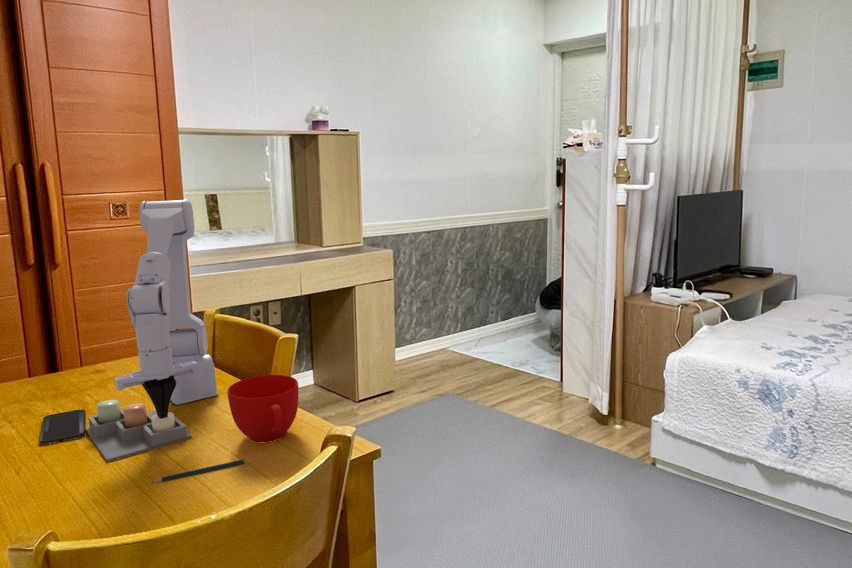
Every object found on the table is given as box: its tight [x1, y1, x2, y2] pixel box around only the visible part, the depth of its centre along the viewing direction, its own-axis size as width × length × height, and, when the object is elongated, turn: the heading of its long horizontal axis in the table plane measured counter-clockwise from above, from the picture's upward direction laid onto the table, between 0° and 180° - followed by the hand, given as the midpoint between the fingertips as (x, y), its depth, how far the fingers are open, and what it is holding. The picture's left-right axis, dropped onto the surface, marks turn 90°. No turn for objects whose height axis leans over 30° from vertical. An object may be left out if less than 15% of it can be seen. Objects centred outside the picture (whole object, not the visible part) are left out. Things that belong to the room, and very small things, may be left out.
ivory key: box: [151, 411, 175, 433], centre depth 125 cm, size 4×4×3 cm
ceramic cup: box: [226, 374, 299, 443], centre depth 122 cm, size 13×17×10 cm
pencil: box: [152, 459, 245, 483], centre depth 111 cm, size 1×1×15 cm
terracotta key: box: [122, 402, 148, 427], centre depth 127 cm, size 4×4×3 cm
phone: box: [38, 408, 87, 445], centre depth 132 cm, size 8×1×15 cm
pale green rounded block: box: [96, 399, 121, 423], centre depth 129 cm, size 4×4×3 cm
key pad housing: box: [85, 408, 193, 463], centre depth 128 cm, size 15×18×3 cm
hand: (162, 416), depth 124 cm, fingers closed, pressing on ivory key
